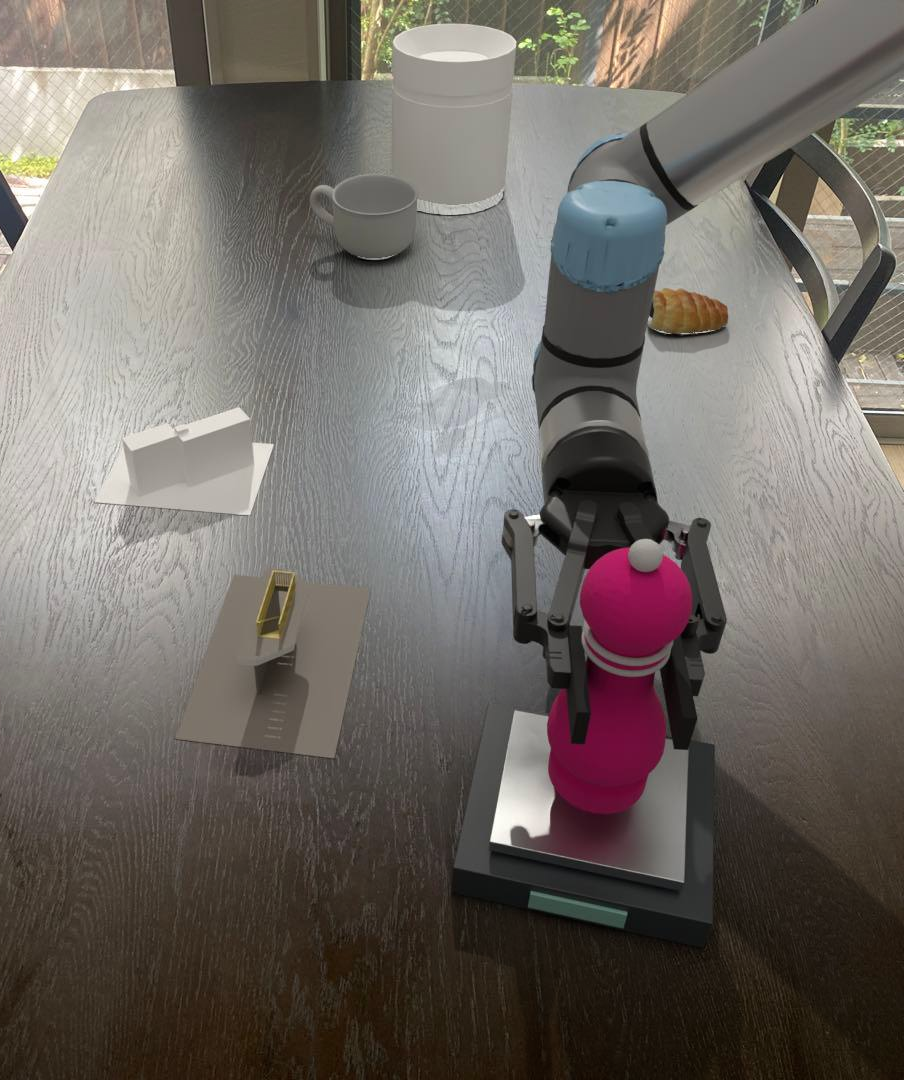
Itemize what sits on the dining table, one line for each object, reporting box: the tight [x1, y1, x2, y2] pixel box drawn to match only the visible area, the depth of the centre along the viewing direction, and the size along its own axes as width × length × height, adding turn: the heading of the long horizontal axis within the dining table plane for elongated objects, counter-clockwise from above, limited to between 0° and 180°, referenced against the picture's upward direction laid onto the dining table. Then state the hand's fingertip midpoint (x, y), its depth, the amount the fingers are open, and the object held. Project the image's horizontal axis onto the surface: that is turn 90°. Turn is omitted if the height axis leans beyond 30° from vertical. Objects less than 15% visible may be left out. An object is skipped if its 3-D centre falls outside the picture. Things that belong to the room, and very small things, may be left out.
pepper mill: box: [547, 539, 692, 814], centre depth 63 cm, size 7×7×20 cm
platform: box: [174, 567, 372, 759], centre depth 84 cm, size 12×18×7 cm, turn 171°
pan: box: [489, 710, 689, 891], centre depth 71 cm, size 12×11×1 cm
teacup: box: [309, 173, 418, 258], centre depth 137 cm, size 14×11×8 cm
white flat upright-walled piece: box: [94, 406, 275, 516], centre depth 102 cm, size 15×11×6 cm
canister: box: [390, 23, 518, 205], centre depth 146 cm, size 16×16×20 cm
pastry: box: [647, 287, 729, 335], centre depth 123 cm, size 9×7×4 cm
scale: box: [450, 702, 716, 949], centre depth 73 cm, size 16×14×3 cm
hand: (633, 730), depth 59 cm, fingers closed on pepper mill, 5 cm apart
